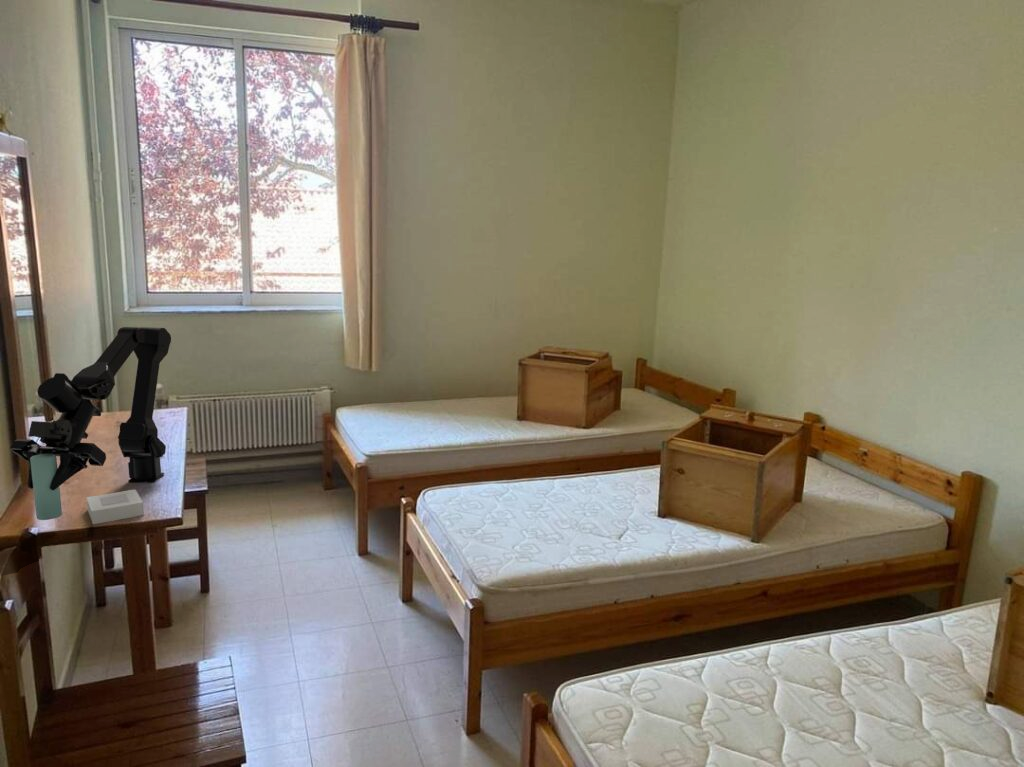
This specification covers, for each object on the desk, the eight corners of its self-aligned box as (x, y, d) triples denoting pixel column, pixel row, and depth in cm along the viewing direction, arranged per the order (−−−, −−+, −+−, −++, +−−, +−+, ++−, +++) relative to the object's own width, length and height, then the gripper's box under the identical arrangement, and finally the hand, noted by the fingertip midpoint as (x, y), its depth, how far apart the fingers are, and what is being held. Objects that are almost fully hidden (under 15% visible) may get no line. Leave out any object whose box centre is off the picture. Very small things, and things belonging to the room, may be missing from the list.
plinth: (136, 501, 171) (135, 488, 171) (144, 514, 163) (142, 501, 163) (87, 510, 166) (86, 497, 165) (92, 524, 158) (91, 510, 157)
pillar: (60, 510, 158) (55, 452, 155) (63, 517, 154) (57, 457, 152) (35, 514, 155) (29, 455, 152) (37, 521, 151) (30, 461, 149)
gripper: (10, 402, 155) (-27, 468, 146) (91, 406, 152) (58, 474, 144) (43, 428, 164) (9, 492, 155) (119, 432, 161) (90, 497, 153)
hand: (40, 488), depth 152 cm, fingers closed on pillar, 5 cm apart
